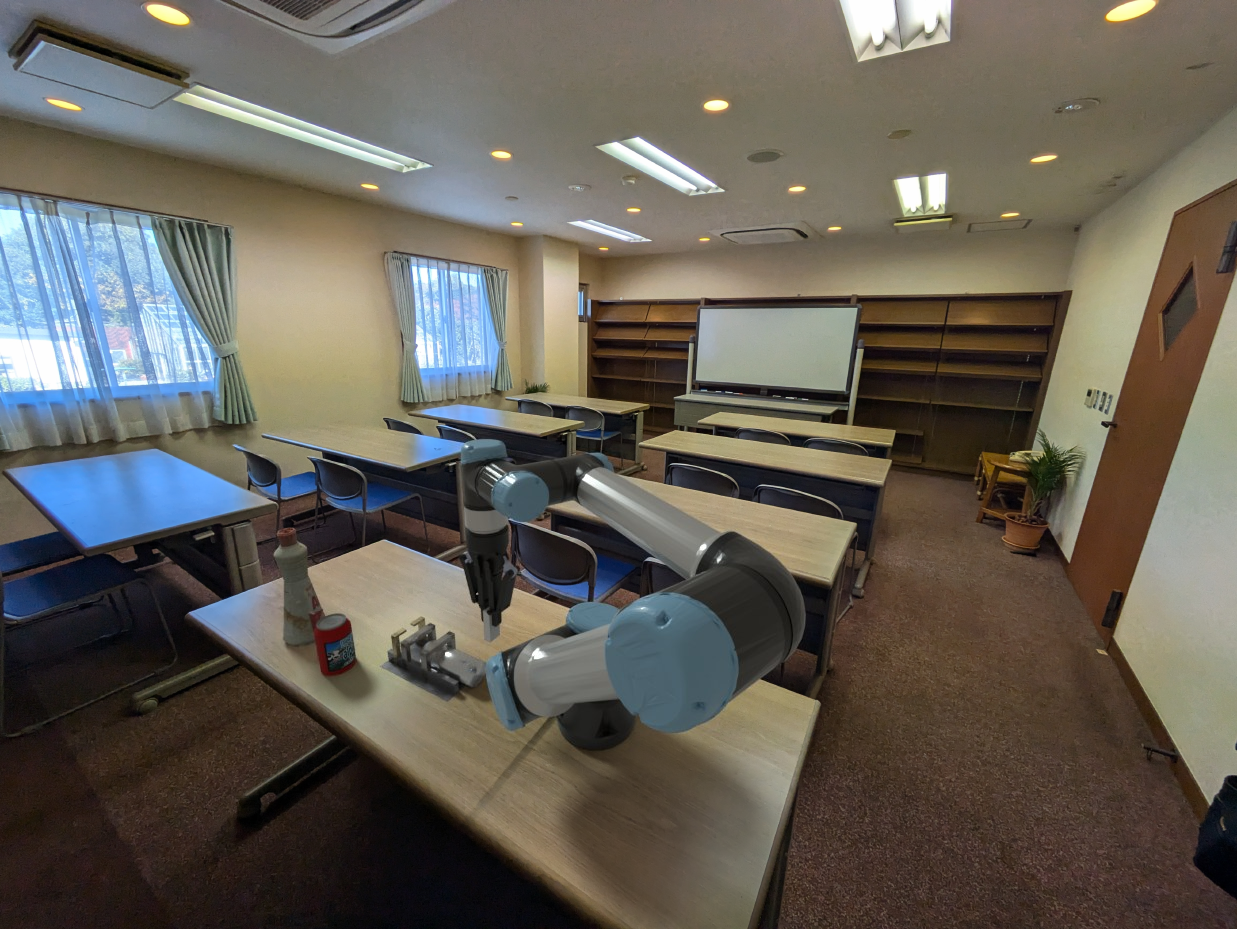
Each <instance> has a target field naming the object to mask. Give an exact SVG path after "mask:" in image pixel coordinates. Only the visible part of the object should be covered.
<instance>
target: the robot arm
mask: <svg viewBox="0 0 1237 929" xmlns="http://www.w3.org/2000/svg"><path fill="white" fill-rule="evenodd" d="M459 465H460V471H461V481H462V485H461V486H462V496H463V497H462V498H463V514H464V515H463V516H464V527H465V530H464V531H465V532H464V534H465V546H466V548H467V549H468V550H467V551H465V552H463V553H461V554H459V555H458V560H459V562H460V564H461V566H462V568H463V572H464V576H465V580H466V584H467V588H468V592H469V596H470V600H471V602H472V604H477V605H478V607H479V609H480V618H481V622H482V623H483V635H484V639H483V640H484V641H485V642H488V643H492V642H494V640H496V639H497V638H498V637H499V636H501V627H500V626H501V624H502V622H503V621H502V620H503V619H502V613H503V612H504V611H505V610H507V609H508V608H510V607H511V602H512V598H513V595H514V594H513V593H514V588H515V583H516V579H517V575H518V574H519V573H520V572H521V567H520V566H519V565H517V564H516V565H515V566H514V565H513V563H511V561H510V556H509V553H508V546H509V542H510V528H509V525H508V523H509V519H511V520H513V521H515V522H519V523H529V522H532V521H535V520H536V519H537V518H538V517H540V515H542V514H543V513H544V512H545V511H546V509H547V507H550V506H554V505H559V504H563V503H567V502H572V501H573V502H576V503H577V504H578V505H580V506H581V507H583V508H584V509H586V510H587V511H589V512H590V513H591V514H593V515H594V516H595V517H597V518H598V519H600V520H601V521H602V522H604V523H606V524H608V525H609V526H610V527H611V528H613V529H614V530H615V531H617V532H619V533H620V534H622V535H623V536H625V537H626V538H627V539H628V540H630V541H631V542H633V543H634V544H636V545H637V546H638V547H640V548H642V549H643V550H644V551H645V552H647V553H649V554H650V555H651V556H653V557H654V558H656V559H657V560H658V561H660V562H661V563H663V564H664V565H666V566H667V567H668V568H670V569H672V570H673V572H676V573H677V574H678V575H680V576H681V577H682V578H684V579H685V580H682V581H680V582H678V583H675V584H673V585H671V586H669V587H666V588H663V589H661V590H658V591H656V592H653V593H651V594H648V595H645V596H642V597H640V598H638V599H636V600H633V601H631V602H629V603H627V604H625V605H624V606H622V607H621V608H620V609H619V608H617V607H616V606H613V605H611V604H607V603H604V602H603V603H602V602H600V601H599V602H598V601H587V602H581V603H578V604H576V605H574V606H572V607H571V608H570V609H569V610H568V612H567V614H566V616H565V622H566V623H565V624H563V625H561V626H559V627H556V628H555V629H552V630H548V631H545V632H544V633H542V634H540V635H538V636H535V637H533V638H530V639H529V640H526V641H524V642H521V643H519V644H517V645H515V646H512V647H509V648H508V649H506V650H500V651H499V652H498V653H497V654H495V655H493V656H491V657H489V658H488V659H487V661H486V662H485V663H486V668H485V669H486V672H485V677H486V682H487V687H488V691H489V695H490V699H491V701H492V704H493V706H494V709H495V712H496V714H497V717H498V719H499V721H500V722H501V724H502V726H503V728H505V729H506V730H507V731H509V732H515V731H516V730H518V729H523V728H525V727H526V725H527V724H529V723H531V722H533V721H535V720H538V719H540V718H552V717H553V718H554V717H556V716H557V717H556V721H557V726H558V729H559V731H560V733H561V734H562V736H563V737H564V738H565V739H566V740H567V741H568V742H569V743H570V744H572V745H574V746H576V747H578V748H581V749H584V750H592V751H599V750H600V751H602V750H607V749H611V748H613V747H614V748H615V747H616V746H618V745H620V744H621V743H623V742H624V741H625V740H626V739H627V738H628V737H629V736H630V735H631V733H632V731H633V729H634V727H635V723H636V716H637V715H638V717H639V719H640V723H642V724H643V725H645V726H646V727H648V728H650V729H652V730H655V731H657V732H660V733H663V734H680V733H684V732H688V731H690V730H692V729H694V728H695V727H697V726H698V727H699V726H700V725H703V724H705V723H707V722H709V721H710V720H713V719H714V718H715V717H717V715H719V714H720V713H721V712H722V711H723V710H724V709H725V708H726V706H727V705H728V704H729V703H730V702H732V701H733V700H734V699H736V698H737V697H738V696H740V695H741V694H742V693H744V692H745V691H746V690H747V689H748V688H750V687H751V686H753V685H754V684H756V683H757V682H758V681H760V679H762V678H763V677H765V676H766V675H767V674H769V673H770V672H771V671H773V670H774V669H775V668H776V667H778V666H780V665H781V664H783V663H784V662H785V661H787V660H788V659H789V658H790V657H791V656H792V655H793V653H795V651H796V650H797V648H798V646H799V644H800V642H801V640H802V639H803V636H804V632H805V627H806V615H807V614H806V607H805V602H804V597H803V595H802V591H801V588H800V587H799V585H798V584H797V583H798V582H796V580H795V578H794V576H793V575H792V573H791V572H790V571H789V569H787V567H786V566H785V565H784V564H783V563H782V562H781V560H779V559H778V558H777V557H776V556H775V555H774V554H772V553H771V552H770V551H768V550H767V549H765V548H764V547H762V546H761V545H760V544H758V543H757V542H754V541H753V540H751V539H750V538H747V537H746V536H745V535H742V534H740V533H738V532H736V531H734V530H726V531H724V532H721V531H719V530H716V529H715V528H713V527H712V526H710V525H708V524H706V523H705V522H703V521H701V520H699V519H697V518H695V517H694V516H692V515H690V514H688V513H687V512H685V511H683V510H682V509H679V508H678V507H676V506H675V505H672V504H670V503H668V502H667V501H665V500H663V499H661V498H660V497H658V496H657V495H654V494H653V493H651V492H649V491H647V490H645V489H644V488H642V487H640V486H638V485H637V484H635V483H633V482H632V481H630V480H628V479H626V478H624V477H622V476H621V475H619V474H617V473H615V469H614V467H613V464H612V462H611V461H609V458H608V456H606V454H603V453H602V452H591V453H589V452H584V453H579V454H576V455H570V456H566V457H558V458H555V459H554V458H553V459H548V460H542V461H535V462H529V463H525V464H517V465H516V464H514V463H513V462H510V461H508V454H507V448H506V444H505V443H504V442H503V441H502V440H498V439H491V438H489V439H488V438H487V439H486V438H480V439H473V440H469V441H466V442H465V443H464V444H462V445H461V448H460V463H459ZM502 576H503V577H502Z"/></svg>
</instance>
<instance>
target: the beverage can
mask: <svg viewBox="0 0 1237 929" xmlns="http://www.w3.org/2000/svg"><path fill="white" fill-rule="evenodd" d="M314 638H315V642H314V643H315V649H316V654H317V660H318V666H319V671H320V673H321V674H322V675H323V676H326V677H333V676H335V677H336V676H338V675H342V674H344V673H346V672H348V671H349V670H351V669H352V668H354V666H355V665H356V663H357V654H356V648H355V642H354V641H355V640H354V633H353V628H352V622H351V620H350V619H349V618H348V617H347V616H346V614H344V613H341V612H340V613H338V612H337V613H331V614H328V615H327V614H326V615H325V617H323V618H321V619H320V620H319V621H318V622H317V624H316V628H315V630H314Z"/></svg>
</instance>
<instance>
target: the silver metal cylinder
mask: <svg viewBox="0 0 1237 929" xmlns="http://www.w3.org/2000/svg"><path fill="white" fill-rule="evenodd" d="M436 640H437V639H436ZM436 640H431V641H429V642H428V643H426V644H425V645H424V647H423V648H422V650H423V649H425V648H426V647H428V646H429V645H430V644H432V643H433V642H435V641H436ZM422 650H421V651H422ZM458 650H459V649H457V648H456V649H453V648H451V647H449V646H447V644H445V645H444V646H442V647H441V648H440V649H438V650H437V651H436V652H434V653H433V654H431V655H430V661H431V667H432V668H434V669H436V670H438V671H440V672H442V673H444V674H446V675H448V676H450V677H452V678H454V679H456V680H458V681H460V682H462V683H464V684H466V686H468V687H470V688H475V687H477V686H479V684H480V683H481V682H482V681H483V680H484V678H485V676H486V669H485V668H486V664H485V663H486V662H485V663H484V661H483V660H481V661H480V659H479V658H476V657H474V656H472V655H470V654H468V655H467V653H465V652H463V651H461V652H460V650H459V651H458ZM462 652H463V653H462ZM464 653H465V654H464ZM469 655H470V656H469ZM471 656H472V657H471ZM473 657H474V658H473ZM475 658H476V659H475ZM478 659H479V660H478ZM420 661H421V655H420ZM482 661H483V662H482Z"/></svg>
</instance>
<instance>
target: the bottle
mask: <svg viewBox="0 0 1237 929" xmlns="http://www.w3.org/2000/svg"><path fill="white" fill-rule="evenodd" d="M276 537H277V540H278V543H279V546H278V548H277V549H275V551H274V553H273V558H274V560H275V562H276V565H277V567H278V569H279V572H280V574H281V577H282V579H283V628H282V629H283V630H282V632H283V634H282V640H283V642H285V643H286V644H289V645H291V646H294V647H299V646H306V645H310V644H313V643H315V638H314V630H315V628H316V624H317V622H318V621H319V620H320V619H321V618H323V617H325V616H326V613H325V612H324V608H323V607H322V605H321V603H320V600H319V597H318V596H317V592H316V590H315V587H314V585H313V583H312V581H311V578H310V576H309V568H308V547H307V546H306V545H305V544H303V543H302V542H299V541H298V537H297V531H296V529H295V528H294V527H285V528H282V529H279V530H278V531H277V533H276Z"/></svg>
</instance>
